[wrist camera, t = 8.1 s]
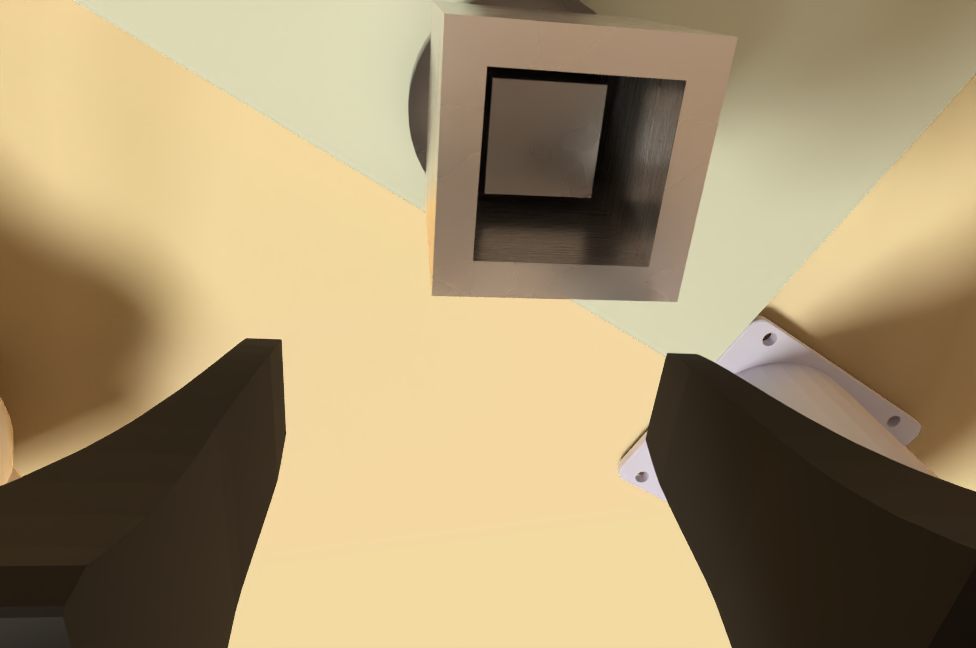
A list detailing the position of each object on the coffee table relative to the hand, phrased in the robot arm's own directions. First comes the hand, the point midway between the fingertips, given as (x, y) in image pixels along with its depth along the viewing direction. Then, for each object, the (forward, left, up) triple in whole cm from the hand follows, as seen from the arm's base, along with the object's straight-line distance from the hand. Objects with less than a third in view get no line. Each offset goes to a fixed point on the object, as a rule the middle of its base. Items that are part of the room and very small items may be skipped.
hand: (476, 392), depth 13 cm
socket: (+1, -4, -7) cm, 9 cm away
